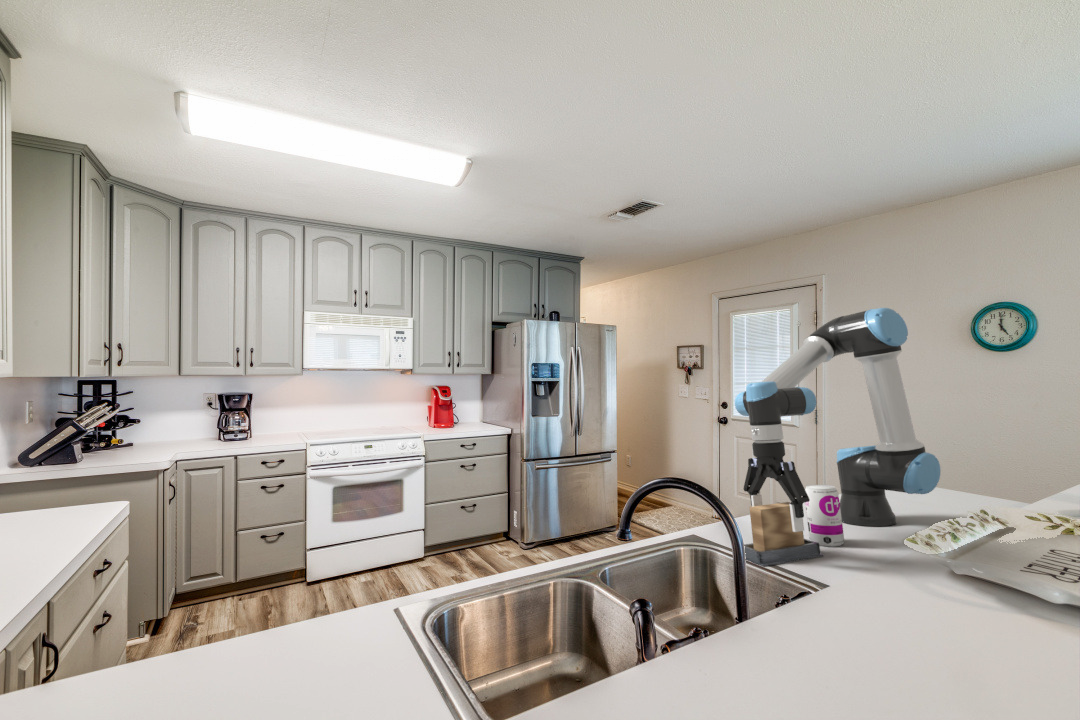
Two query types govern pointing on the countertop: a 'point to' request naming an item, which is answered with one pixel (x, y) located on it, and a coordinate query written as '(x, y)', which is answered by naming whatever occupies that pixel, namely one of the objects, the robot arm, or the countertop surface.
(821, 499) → the supplement can
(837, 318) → the robot arm
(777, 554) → the track
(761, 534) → the panel
